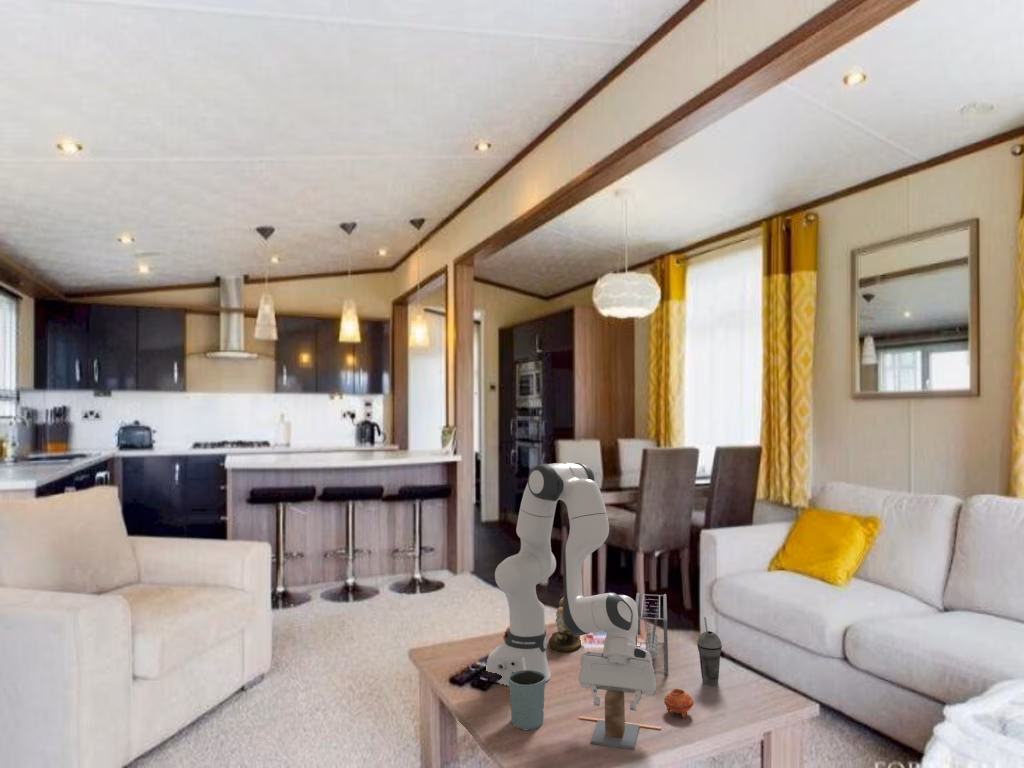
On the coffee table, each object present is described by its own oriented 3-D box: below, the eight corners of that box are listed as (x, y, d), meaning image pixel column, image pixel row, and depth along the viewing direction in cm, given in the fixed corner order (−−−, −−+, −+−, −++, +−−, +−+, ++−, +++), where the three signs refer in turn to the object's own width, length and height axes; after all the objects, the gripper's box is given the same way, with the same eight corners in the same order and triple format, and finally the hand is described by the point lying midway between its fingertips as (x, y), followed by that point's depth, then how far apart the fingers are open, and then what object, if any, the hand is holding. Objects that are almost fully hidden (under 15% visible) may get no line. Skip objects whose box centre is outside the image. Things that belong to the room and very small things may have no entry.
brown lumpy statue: (550, 634, 245) (549, 588, 246) (581, 635, 244) (581, 588, 245) (547, 652, 228) (547, 602, 228) (582, 653, 226) (581, 603, 227)
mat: (590, 743, 167) (590, 740, 167) (598, 721, 178) (598, 719, 178) (634, 749, 164) (634, 747, 164) (639, 727, 175) (639, 725, 175)
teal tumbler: (510, 731, 173) (509, 685, 174) (507, 713, 184) (507, 670, 184) (548, 729, 174) (547, 684, 174) (543, 711, 184) (543, 668, 185)
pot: (701, 716, 180) (696, 693, 179) (676, 727, 178) (671, 703, 177) (686, 702, 187) (681, 680, 187) (662, 712, 185) (656, 690, 185)
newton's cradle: (637, 640, 238) (636, 591, 238) (667, 642, 235) (666, 592, 236) (634, 674, 208) (633, 618, 209) (668, 677, 206) (667, 620, 207)
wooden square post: (605, 736, 169) (604, 696, 170) (608, 727, 173) (607, 689, 174) (622, 738, 168) (621, 698, 168) (624, 730, 172) (624, 691, 172)
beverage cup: (724, 689, 197) (722, 621, 197) (698, 687, 198) (697, 620, 199) (721, 679, 204) (720, 614, 204) (697, 677, 205) (695, 612, 206)
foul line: (578, 718, 180) (578, 717, 180) (579, 717, 181) (579, 715, 181) (660, 729, 173) (660, 728, 173) (661, 727, 174) (661, 726, 174)
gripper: (580, 646, 181) (573, 697, 171) (656, 653, 175) (653, 707, 165) (583, 656, 185) (576, 707, 175) (657, 664, 179) (655, 717, 169)
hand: (614, 707), depth 170 cm, fingers open, 8 cm apart
